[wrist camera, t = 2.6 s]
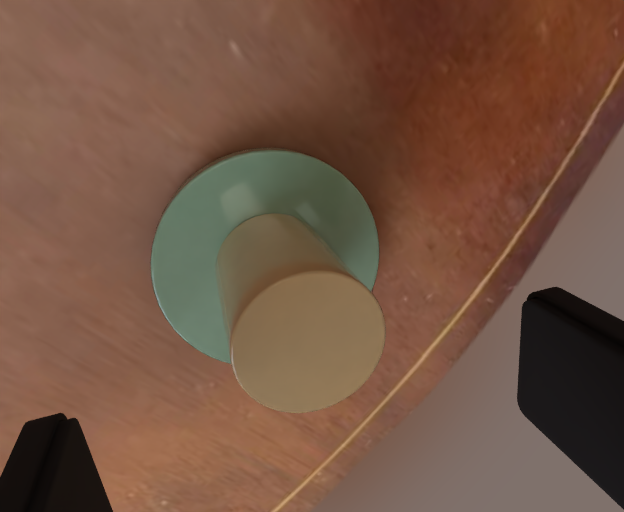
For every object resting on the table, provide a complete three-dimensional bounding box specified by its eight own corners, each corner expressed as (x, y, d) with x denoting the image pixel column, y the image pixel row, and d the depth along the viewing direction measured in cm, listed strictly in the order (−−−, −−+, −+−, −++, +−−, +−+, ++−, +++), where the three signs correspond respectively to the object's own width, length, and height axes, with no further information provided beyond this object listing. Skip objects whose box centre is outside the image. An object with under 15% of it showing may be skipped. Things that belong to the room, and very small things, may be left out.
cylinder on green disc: (399, 190, 18) (512, 245, 12) (319, 367, 20) (382, 493, 14) (195, 107, 16) (205, 123, 9) (124, 322, 17) (91, 456, 11)
